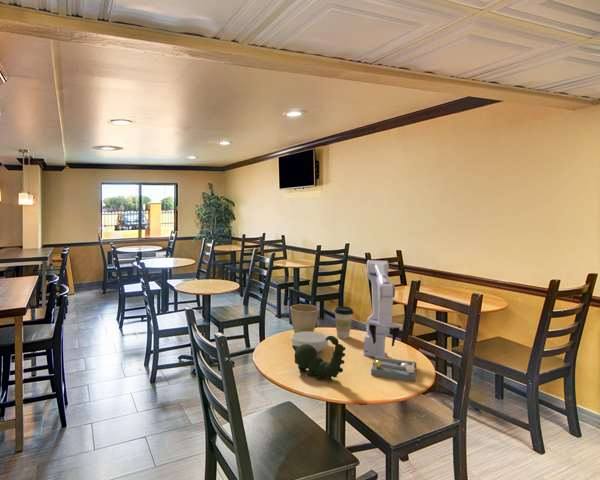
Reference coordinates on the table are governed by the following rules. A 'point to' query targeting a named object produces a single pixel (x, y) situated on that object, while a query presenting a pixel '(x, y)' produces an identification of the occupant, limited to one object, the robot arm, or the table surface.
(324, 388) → the table surface
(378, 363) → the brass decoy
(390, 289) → the robot arm
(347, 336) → the coffee cup
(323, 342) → the cereal bowl
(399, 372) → the grey divided tray
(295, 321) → the plant pot
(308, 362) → the toy figurine
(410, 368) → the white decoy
